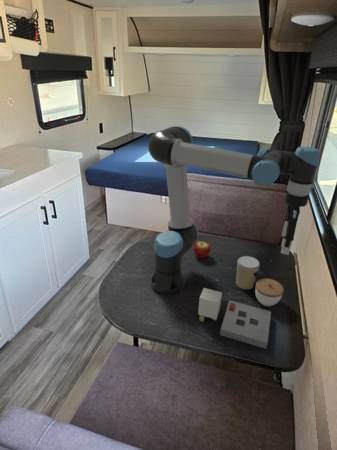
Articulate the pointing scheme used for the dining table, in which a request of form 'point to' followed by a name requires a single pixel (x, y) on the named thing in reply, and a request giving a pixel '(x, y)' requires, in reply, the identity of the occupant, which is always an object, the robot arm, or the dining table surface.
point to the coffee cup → (246, 272)
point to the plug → (209, 304)
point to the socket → (246, 324)
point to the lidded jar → (268, 291)
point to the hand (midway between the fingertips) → (284, 244)
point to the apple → (201, 249)
